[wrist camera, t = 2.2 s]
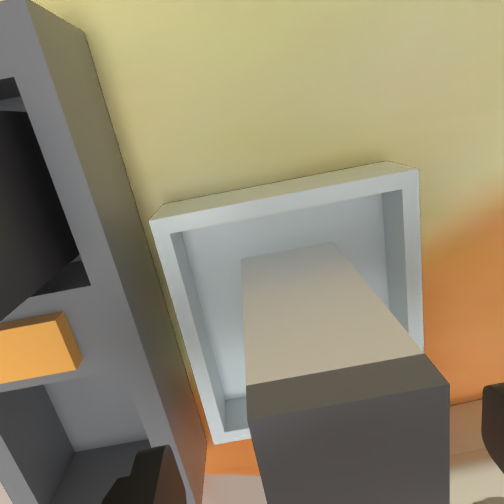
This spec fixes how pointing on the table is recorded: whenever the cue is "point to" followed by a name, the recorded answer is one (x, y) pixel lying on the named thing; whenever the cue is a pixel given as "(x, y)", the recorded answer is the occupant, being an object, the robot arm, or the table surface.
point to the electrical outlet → (472, 459)
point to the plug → (338, 387)
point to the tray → (275, 240)
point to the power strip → (77, 286)
